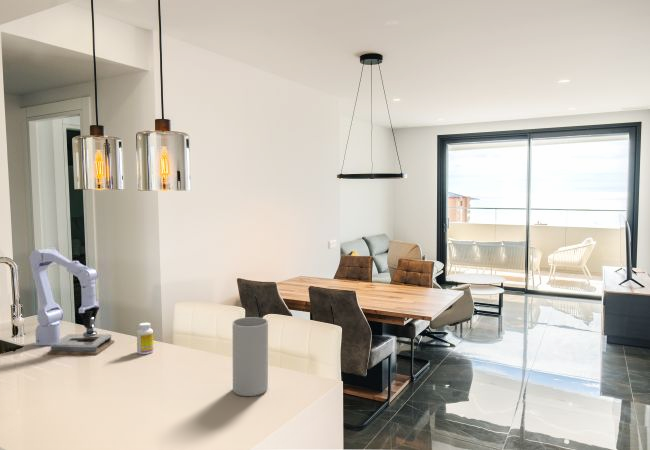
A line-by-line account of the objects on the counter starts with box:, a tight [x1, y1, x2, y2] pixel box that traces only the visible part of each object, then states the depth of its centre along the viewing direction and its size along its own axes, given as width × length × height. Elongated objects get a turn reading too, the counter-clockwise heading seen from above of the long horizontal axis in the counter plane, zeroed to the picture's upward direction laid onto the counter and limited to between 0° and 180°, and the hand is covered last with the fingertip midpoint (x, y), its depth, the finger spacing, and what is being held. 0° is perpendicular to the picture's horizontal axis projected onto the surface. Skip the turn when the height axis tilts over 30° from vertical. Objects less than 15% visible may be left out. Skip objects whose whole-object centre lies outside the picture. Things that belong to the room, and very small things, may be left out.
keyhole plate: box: [50, 333, 112, 352], centre depth 211 cm, size 20×15×3 cm
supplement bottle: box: [136, 322, 154, 355], centre depth 206 cm, size 7×7×13 cm
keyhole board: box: [46, 339, 115, 356], centre depth 211 cm, size 22×17×1 cm
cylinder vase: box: [232, 316, 269, 397], centre depth 167 cm, size 12×12×25 cm
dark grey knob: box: [82, 316, 98, 337], centre depth 212 cm, size 6×6×8 cm
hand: (89, 324), depth 212 cm, fingers closed on dark grey knob, 4 cm apart
